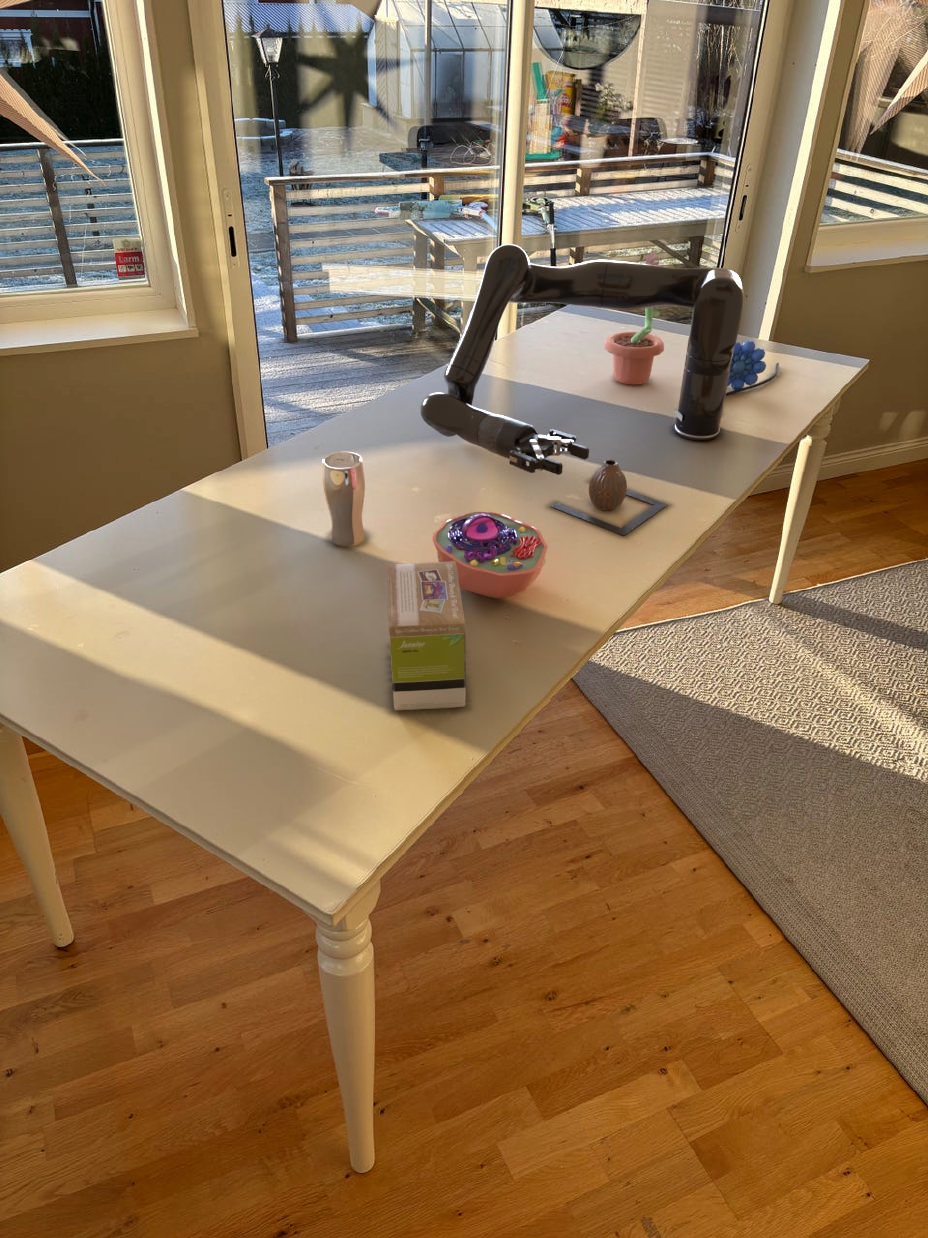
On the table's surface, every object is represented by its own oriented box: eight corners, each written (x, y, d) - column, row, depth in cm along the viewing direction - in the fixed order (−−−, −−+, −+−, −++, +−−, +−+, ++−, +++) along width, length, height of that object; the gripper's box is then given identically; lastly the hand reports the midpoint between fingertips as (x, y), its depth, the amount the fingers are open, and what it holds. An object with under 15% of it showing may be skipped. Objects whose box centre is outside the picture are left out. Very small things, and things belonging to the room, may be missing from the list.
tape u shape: (595, 478, 181) (596, 478, 181) (667, 505, 173) (667, 504, 173) (550, 507, 172) (550, 506, 172) (623, 536, 163) (624, 535, 163)
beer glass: (374, 531, 164) (370, 454, 155) (358, 551, 158) (352, 472, 150) (338, 525, 166) (332, 448, 157) (321, 544, 160) (313, 465, 152)
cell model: (472, 631, 140) (474, 568, 134) (416, 567, 154) (415, 507, 148) (567, 602, 147) (573, 541, 140) (505, 544, 161) (507, 485, 154)
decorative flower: (620, 363, 232) (634, 237, 214) (671, 375, 225) (689, 246, 208) (591, 381, 222) (603, 250, 204) (643, 394, 216) (660, 261, 198)
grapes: (763, 388, 220) (774, 337, 212) (758, 398, 215) (768, 347, 208) (714, 379, 223) (723, 330, 216) (708, 389, 219) (716, 339, 211)
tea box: (390, 645, 137) (386, 560, 129) (458, 642, 138) (458, 558, 129) (392, 713, 125) (388, 624, 116) (466, 709, 126) (468, 621, 117)
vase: (623, 516, 169) (628, 472, 164) (585, 512, 170) (589, 468, 165) (625, 498, 175) (631, 455, 170) (589, 494, 176) (593, 452, 171)
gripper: (483, 430, 175) (553, 456, 166) (529, 408, 184) (598, 431, 175) (483, 466, 179) (551, 493, 171) (527, 443, 188) (594, 467, 179)
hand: (574, 461), depth 173 cm, fingers open, 8 cm apart
